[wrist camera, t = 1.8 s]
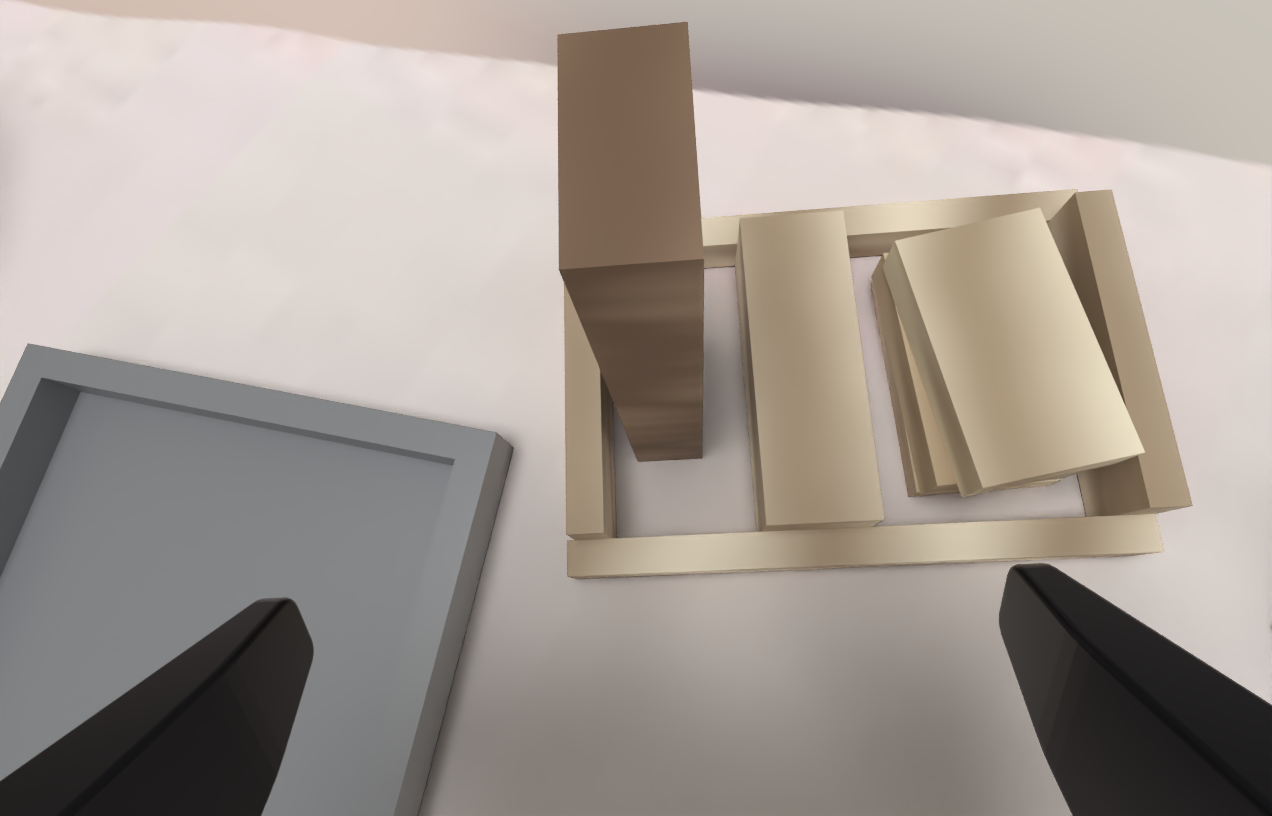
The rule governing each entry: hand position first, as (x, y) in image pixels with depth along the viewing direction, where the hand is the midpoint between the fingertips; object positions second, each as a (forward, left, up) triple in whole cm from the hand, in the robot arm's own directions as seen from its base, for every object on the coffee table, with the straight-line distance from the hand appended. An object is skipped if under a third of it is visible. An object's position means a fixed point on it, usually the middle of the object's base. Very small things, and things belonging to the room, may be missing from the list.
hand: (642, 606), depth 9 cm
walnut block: (+1, -6, -12) cm, 14 cm away
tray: (+14, +4, -12) cm, 19 cm away
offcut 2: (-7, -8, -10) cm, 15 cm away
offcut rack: (-3, -8, -12) cm, 15 cm away
